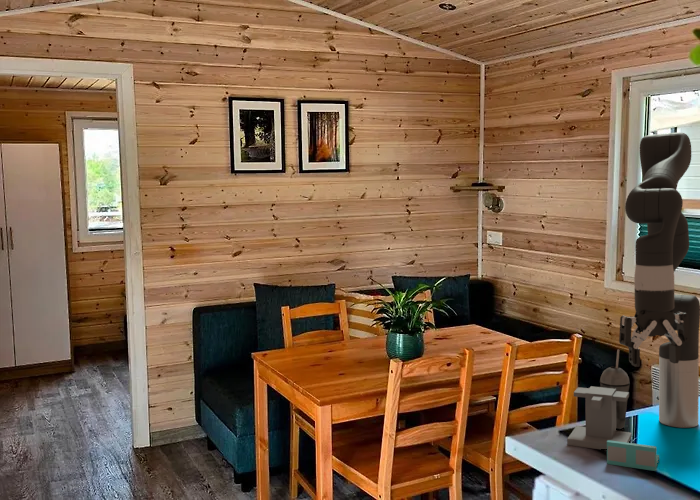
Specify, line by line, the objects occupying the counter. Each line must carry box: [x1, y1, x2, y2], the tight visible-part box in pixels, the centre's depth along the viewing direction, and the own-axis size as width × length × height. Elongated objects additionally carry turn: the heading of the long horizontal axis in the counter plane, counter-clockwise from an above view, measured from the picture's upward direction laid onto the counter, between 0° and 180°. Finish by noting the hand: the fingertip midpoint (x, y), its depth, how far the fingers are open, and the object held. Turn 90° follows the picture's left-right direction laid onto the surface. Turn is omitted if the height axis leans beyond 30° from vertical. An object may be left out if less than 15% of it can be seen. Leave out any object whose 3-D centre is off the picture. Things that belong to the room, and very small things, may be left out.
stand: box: [566, 385, 633, 450], centre depth 171 cm, size 10×13×12 cm
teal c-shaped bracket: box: [606, 440, 660, 472], centre depth 158 cm, size 7×10×5 cm
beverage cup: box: [599, 348, 631, 428], centre depth 181 cm, size 7×7×20 cm
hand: (654, 364), depth 147 cm, fingers open, 8 cm apart
